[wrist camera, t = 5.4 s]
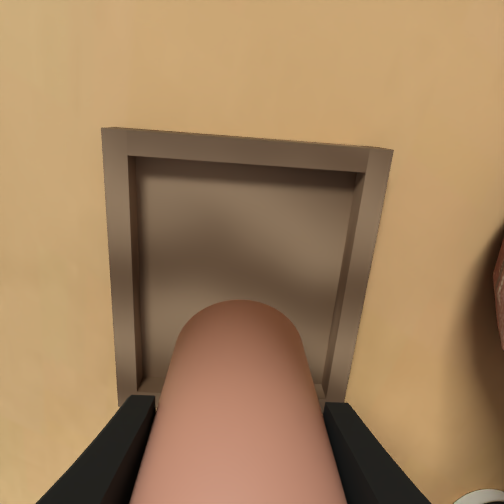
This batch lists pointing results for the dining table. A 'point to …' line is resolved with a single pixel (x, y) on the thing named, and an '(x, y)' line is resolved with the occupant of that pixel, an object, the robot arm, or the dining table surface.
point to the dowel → (238, 417)
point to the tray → (238, 242)
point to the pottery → (499, 292)
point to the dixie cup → (482, 497)
